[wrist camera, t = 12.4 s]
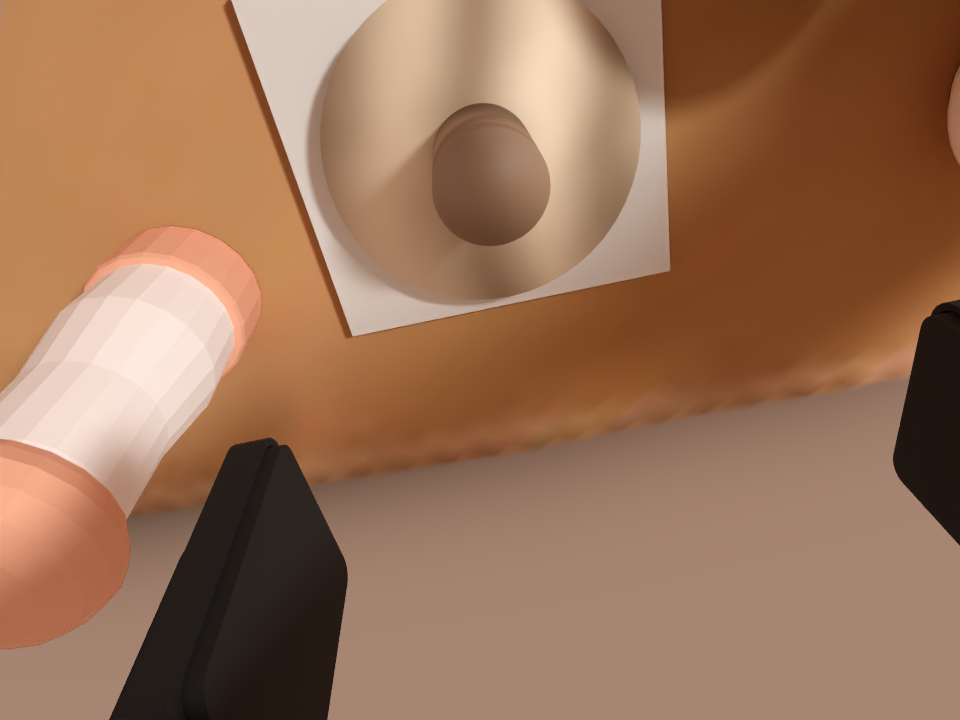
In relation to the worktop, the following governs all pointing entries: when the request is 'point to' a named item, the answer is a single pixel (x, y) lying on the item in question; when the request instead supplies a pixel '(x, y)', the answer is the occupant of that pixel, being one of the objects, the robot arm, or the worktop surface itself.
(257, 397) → the worktop surface
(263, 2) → the mat
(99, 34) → the worktop surface
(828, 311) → the worktop surface
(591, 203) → the lid
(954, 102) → the lidded jar
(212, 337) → the pepper shaker
